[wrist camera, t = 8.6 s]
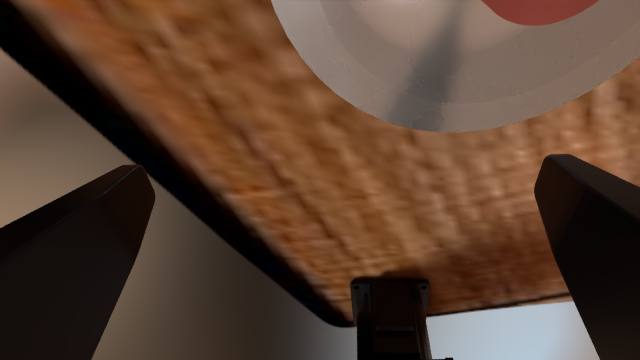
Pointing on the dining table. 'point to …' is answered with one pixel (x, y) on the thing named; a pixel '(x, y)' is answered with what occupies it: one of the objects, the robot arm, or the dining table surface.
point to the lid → (462, 55)
